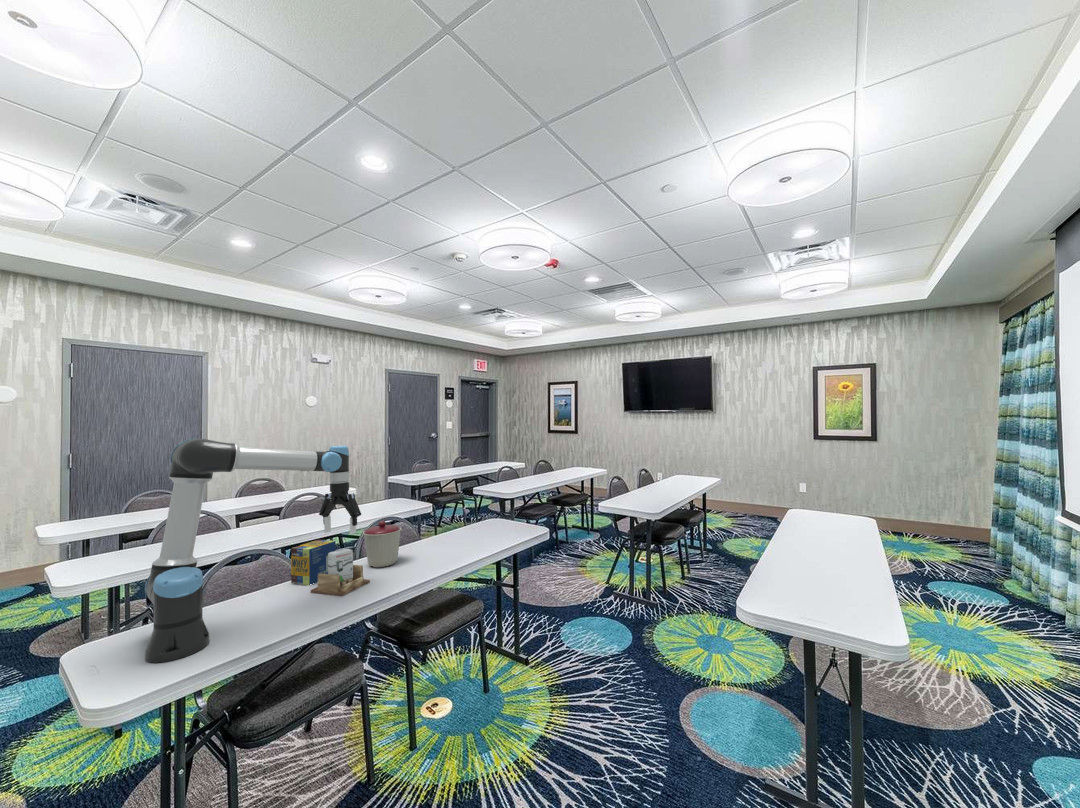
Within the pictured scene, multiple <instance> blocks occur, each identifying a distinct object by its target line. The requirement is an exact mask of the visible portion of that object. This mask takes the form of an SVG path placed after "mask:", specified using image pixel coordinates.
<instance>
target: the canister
mask: <svg viewBox="0 0 1080 808" xmlns="http://www.w3.org/2000/svg"><path fill="white" fill-rule="evenodd" d="M401 531H402V527H401V526H398V525H396V524H387V521H385V520H380V521H379V522H378V525H374V526H371V527H368V528H366V529H365V530H364V531H362V535H363V538H364V545H365V553H366V559H367V563H368V565H369V566H370V567H371V566H373V567H372V568H386V567H390V566H392V565H395V564H396V563H397V561H398V558H399V549H400V548H399V547H400V538H401ZM389 565H390V566H389ZM385 566H386V567H385Z"/></svg>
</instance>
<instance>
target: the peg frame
mask: <svg viewBox="0 0 1080 808" xmlns="http://www.w3.org/2000/svg"><path fill="white" fill-rule="evenodd" d="M370 583H371V579H368V578H367V579H366V578H365V577H364V566H363V565H362V564H360V565H359V564H353V578H350V579H347V580H344V581H341V582H340V575H330V574H319V575H318V582H317V586H316V587H315V588H311V589H310V593H311V594H318V595H325V596H327V595H328V596H336V597H343V596H346V595H347V594H350V593H352V592H353V591H355V590H356V591H357V590H358V589H359V588H362V587H364V586H366V585H368V584H370Z"/></svg>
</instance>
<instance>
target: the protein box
mask: <svg viewBox="0 0 1080 808" xmlns="http://www.w3.org/2000/svg"><path fill="white" fill-rule="evenodd" d="M336 546H337V545H336V540H330V539H329V540H328V539H316V540H315V539H314V540H313V541H310V542H306V543H303V544H300V545H297V546H294V547H291V548H290V565H291V566H290V567H291V569H290V573H291V575H290V584H291V583H294V584H293V585H298V584H302V585H301V586H307V585H310V584H312V585H314V584H316V582H317V583H318V575H319V574H328V553H330V552H334V551H337V550H336ZM313 583H314V584H313ZM310 586H311V585H310Z"/></svg>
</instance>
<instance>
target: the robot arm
mask: <svg viewBox="0 0 1080 808" xmlns="http://www.w3.org/2000/svg"><path fill="white" fill-rule="evenodd" d="M170 462H171V463H170V464H171V466H170V471H169V479H170V480H171V481H172V482H173V486H172V491H171V497H170V502H169V507H168V511H167V517H166V518H167V519H166V522H165V523H166V524H165V526H164V527H165V528H164V533H163V538H162V542H161V548H160V549H161V550H160V554H159V557H158V558H156V559H155V560H154V561H152V562H151V563H152V564H151V569H150V574H149V576H148V578H147V579H146V582H145V586H144V592H145V594H146V597H147V598H148V600H149V601H150V602H151V603H152V605H153V626H152V627H153V629H152V633H151V636H150V638H149V641H148V643H147V647H146V649H145V652H144V653H145V654H144V655H145V657H144V660H145V661H146V662H148V663H154V664H155V663H165V662H166V663H167V662H171V661H175V660H178V659H181V658H185V657H188V656H191V655H193V654H195V653H198V652H199V651H201V650H203V649H205V648H206V647H207V646H208V645H209V643H210V633H209V631H208V627H207V625H206V623H205V621H204V618H203V594H204V592H203V590H204V589H203V588H204V587H203V586H204V584H203V583H204V577H203V571H202V570H201V569H200V568H198V567H197V564H198V559H197V558H196V557H194V551H195V550H194V549H195V544H196V540H197V532H198V528H199V522H200V517H201V511H202V508H203V507H202V505H203V500H204V495H205V490H206V484H208V483H209V482H210V481H212V480H213V475H214V473H232V472H234V470H256V471H258V470H261V471H295V472H296V471H298V472H300V471H301V472H326V473H329V482H330V484H329V493H325V494H324V500H323V503H322V504H321V507H320V510H319V513H318V515H319V516H321V517H323V519H322V520H323V525H324V527H323V529H324V530H323V531H324V533H325V534H327V533H330V532H331V531H332V529H331V528H332V523H331V522H332V520H331V513H332V512H333V510H334V508H335V507H336V505H341V506H343V507H344V508H345V510H346V512H347V513H348V514H349V516H350V518H349V534H350V535H353V534H356V533H357V526H358V517H360V516H362V512H361V510H360V507H359V505H358V502H357V499H356V494H355V493H349V491H350V482H349V481H350V464H349V463H350V453H349V447H348V446H347V445H333V446H330V447H329V449H328V450H327V451H315V450H313V451H312V450H298V449H296V450H295V449H283V448H267V447H249V446H238V444H236V443H233V442H231V443H230V442H223V441H215V440H212V439H207V438H191V439H186V440H183V441H182V442H180V443H179V444H177V445H176V446H175V447H174V448H173V449H172V451H171V455H170Z"/></svg>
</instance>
